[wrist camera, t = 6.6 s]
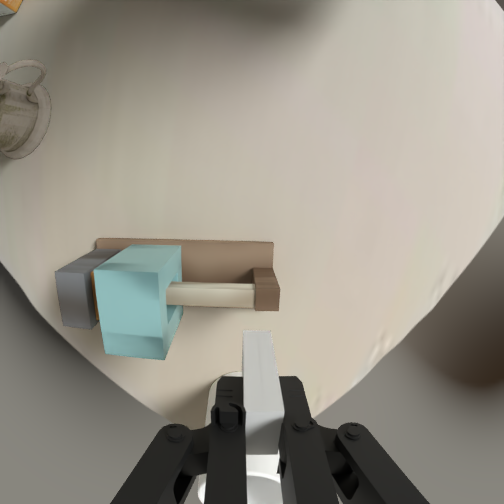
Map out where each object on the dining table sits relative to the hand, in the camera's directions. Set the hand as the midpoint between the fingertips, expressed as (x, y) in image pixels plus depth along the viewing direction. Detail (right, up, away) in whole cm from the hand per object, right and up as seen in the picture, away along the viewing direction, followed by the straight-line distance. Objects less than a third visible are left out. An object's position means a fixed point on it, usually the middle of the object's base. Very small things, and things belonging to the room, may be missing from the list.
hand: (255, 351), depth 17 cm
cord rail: (-8, +3, +16) cm, 18 cm away
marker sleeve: (-10, +3, +13) cm, 17 cm away
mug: (-26, +23, +11) cm, 37 cm away
